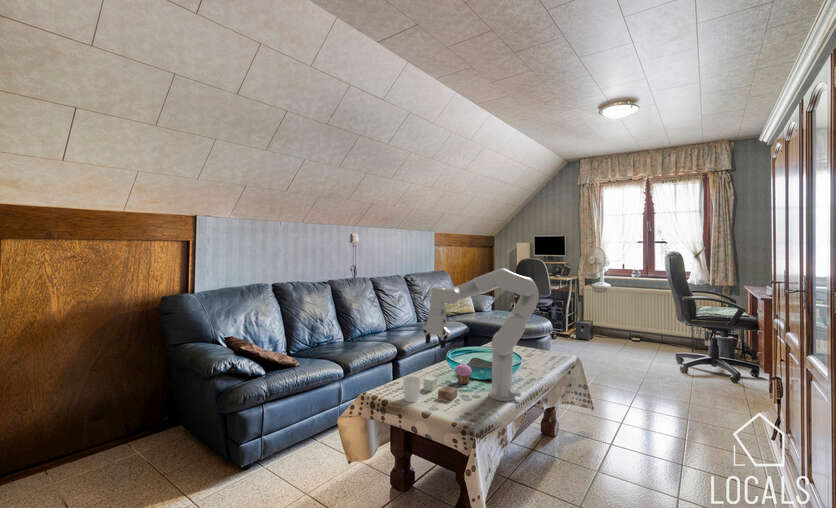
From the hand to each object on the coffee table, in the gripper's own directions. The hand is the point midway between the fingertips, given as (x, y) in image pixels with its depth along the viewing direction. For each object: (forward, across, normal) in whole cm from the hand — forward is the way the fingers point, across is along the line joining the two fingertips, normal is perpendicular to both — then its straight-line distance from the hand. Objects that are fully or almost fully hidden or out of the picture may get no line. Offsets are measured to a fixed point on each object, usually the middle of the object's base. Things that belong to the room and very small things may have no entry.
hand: (435, 345), depth 198 cm
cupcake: (+22, -6, -18) cm, 29 cm away
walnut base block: (+21, -13, +5) cm, 25 cm away
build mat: (+22, -13, +5) cm, 26 cm away
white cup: (+23, -2, +18) cm, 29 cm away
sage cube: (+22, 0, +2) cm, 22 cm away
